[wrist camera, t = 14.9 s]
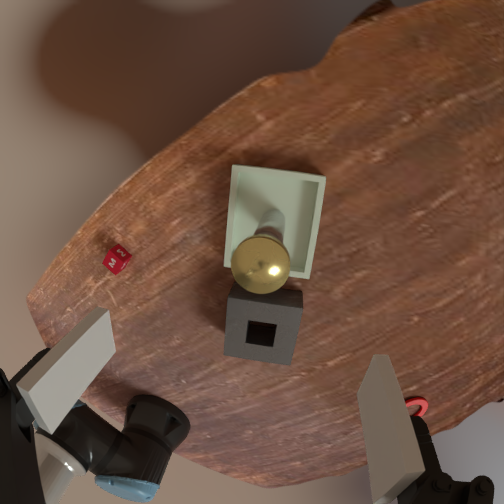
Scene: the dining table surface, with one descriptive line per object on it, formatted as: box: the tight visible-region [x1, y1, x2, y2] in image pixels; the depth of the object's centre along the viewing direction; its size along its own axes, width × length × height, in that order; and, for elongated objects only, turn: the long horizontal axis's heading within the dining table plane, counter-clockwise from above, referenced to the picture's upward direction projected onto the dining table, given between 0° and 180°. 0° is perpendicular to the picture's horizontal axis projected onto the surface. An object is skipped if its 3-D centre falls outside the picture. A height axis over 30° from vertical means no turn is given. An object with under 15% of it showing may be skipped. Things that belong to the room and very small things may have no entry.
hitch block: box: [224, 282, 303, 365], centre depth 43 cm, size 10×10×5 cm
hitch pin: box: [231, 209, 290, 294], centre depth 32 cm, size 5×5×16 cm
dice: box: [102, 244, 132, 275], centre depth 44 cm, size 3×3×3 cm
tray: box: [224, 164, 326, 279], centre depth 39 cm, size 12×14×2 cm
